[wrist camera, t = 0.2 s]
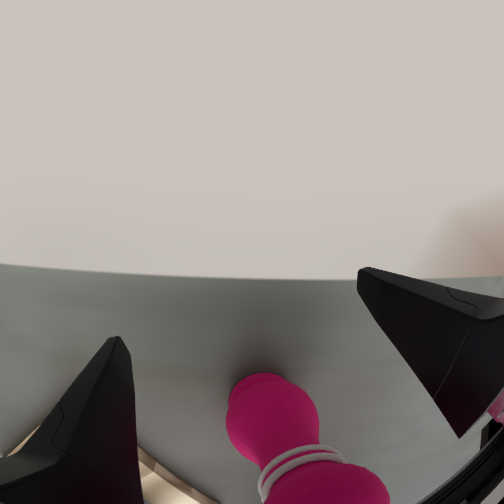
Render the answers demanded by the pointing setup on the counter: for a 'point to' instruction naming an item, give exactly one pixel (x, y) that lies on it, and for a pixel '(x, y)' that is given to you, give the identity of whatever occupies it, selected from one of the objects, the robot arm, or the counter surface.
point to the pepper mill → (293, 447)
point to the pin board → (158, 483)
